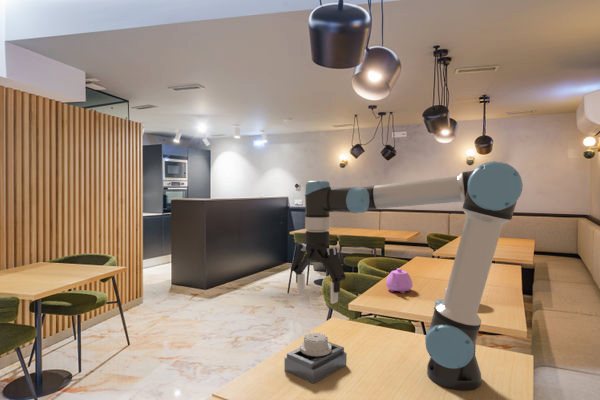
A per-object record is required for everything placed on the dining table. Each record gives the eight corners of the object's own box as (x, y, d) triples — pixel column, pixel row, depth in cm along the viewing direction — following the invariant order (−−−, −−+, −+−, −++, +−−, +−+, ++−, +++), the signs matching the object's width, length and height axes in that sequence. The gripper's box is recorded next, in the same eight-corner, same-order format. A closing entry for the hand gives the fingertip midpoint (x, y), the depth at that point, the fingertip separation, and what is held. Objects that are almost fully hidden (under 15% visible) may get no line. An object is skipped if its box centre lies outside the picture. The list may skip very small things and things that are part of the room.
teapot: (405, 297, 199) (406, 274, 199) (379, 293, 207) (379, 270, 206) (416, 288, 216) (417, 267, 216) (392, 285, 224) (392, 264, 223)
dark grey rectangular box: (351, 362, 126) (352, 345, 126) (313, 383, 112) (313, 365, 112) (323, 351, 134) (323, 335, 134) (284, 370, 120) (284, 352, 120)
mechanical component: (337, 349, 123) (312, 341, 129) (337, 335, 122) (313, 328, 129) (318, 360, 115) (293, 350, 121) (318, 345, 115) (293, 337, 121)
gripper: (357, 232, 115) (357, 303, 115) (296, 226, 131) (296, 288, 132) (342, 235, 109) (342, 309, 110) (280, 228, 126) (280, 292, 127)
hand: (317, 298), depth 121 cm, fingers open, 13 cm apart
